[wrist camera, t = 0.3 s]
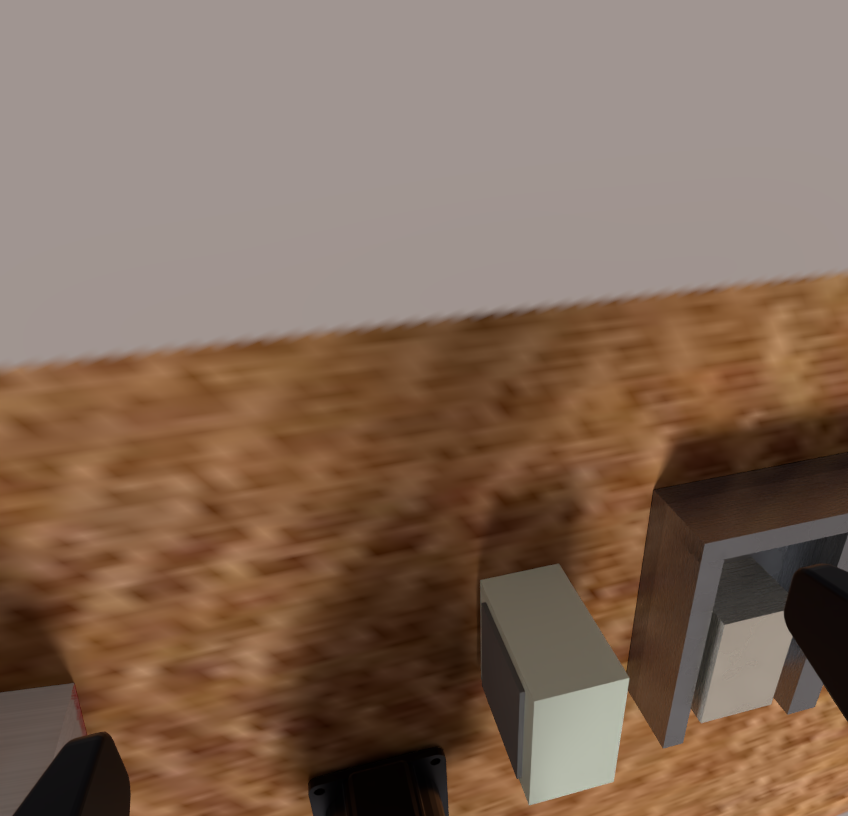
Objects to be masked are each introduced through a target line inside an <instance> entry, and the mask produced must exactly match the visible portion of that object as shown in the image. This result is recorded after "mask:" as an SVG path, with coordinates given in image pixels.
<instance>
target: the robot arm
mask: <svg viewBox="0 0 848 816" xmlns="http://www.w3.org/2000/svg"><path fill="white" fill-rule="evenodd" d="M784 620H785V623H786V626H787V628H788V630H789V632H790V633H791V635H792V636H793V638H794V639H795V641H796V643H797V644H798V646H799V647H800V649H801V650H802V652H803V653H804V655H805V657H806V658H807V660H808V661H809V663H810V664H811V666H812V667H813V669H814V671H815V672H816V674H817V675H818V677H819V678H820V680H821V681H822V683H823V685H824V686H825V688H826V689H827V691H828V692H829V694H830V695H831V697H832V699H833V700H834V702H835V703H836V705H837V706H838V708H839V709H840V711H841V712H842V714H843V716H844V717H845V718H846V720H847V721H848V572H847V571H845V570H843V569H840V568H838V567H835V566H833V565H830V564H823V563H822V564H816V565H812V566H807V567H803V568H800V569H798V570H797V571H796V572H795V573H794V575H793V577H792V581H791V585H790V589H789V592H788V596H787V600H786V604H785V607H784ZM308 793H309V798H310V803H311V807H312V812H313V816H449V812H448V793H447V774H446V758H445V755H444V751H443V749H442V748H440V747H433V748H429V749H425V750H421V751H418V752H414V753H410V754H406V755H402V756H398V757H394V758H390V759H386V760H382V761H378V762H374V763H371V764H367V765H363V766H359V767H355V768H351V769H347V770H343V771H339V772H335V773H331V774H327V775H324V776H320V777H316V778H314V779H312V780H311V781H310V782H309V783H308ZM129 815H130V781H129V777H128V773H127V771H126V769H125V766H124V764H123V762H122V759H121V757H120V755H119V752H118V750H117V748H116V746H115V743H114V741H113V739H112V737H111V736H110V735H109V734H108V733H106V732H99V733H94V734H90V735H86V736H81V737H77V738H74V739H71V740H70V741H68V742H67V743H66V744H65V745H64V746H63V747H62V749H61V750H60V751H59V753H58V754H57V755H56V757H55V758H54V759H53V761H52V762H51V763H50V765H49V766H48V768H47V769H46V770H45V772H44V773H43V774H42V776H41V777H40V778H39V780H38V781H37V782H36V784H35V785H34V787H33V788H32V789H31V791H30V792H29V793H28V795H27V796H26V797H25V799H24V800H23V802H22V803H21V804H20V806H19V807H18V808H17V810H16V811H15V812H14V814H13V815H12V816H129Z"/></svg>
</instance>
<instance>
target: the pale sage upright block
mask: <svg viewBox="0 0 848 816" xmlns="http://www.w3.org/2000/svg"><path fill="white" fill-rule="evenodd" d="M480 616H481V679H482V687H483V689H484V692H485V695H486V697H487V700H488V703H489V706H490V708H491V711H492V714H493V716H494V719H495V722H496V724H497V727H498V730H499V732H500V735H501V738H502V740H503V743H504V746H505V748H506V751H507V754H508V756H509V759H510V762H511V764H512V767H513V770H514V772H515V775H516V778H517V779H518V778H519V780H520V783H521V785H522V788H523V791H524V793H525V796H526V799H527V801H528V804H529V805H532V804H536V803H539V802H543V801H546V800H550V799H554V798H557V797H561V796H564V795H568V794H572V793H575V792H579V791H582V790H586V789H590V788H593V787H597V786H600V785H604V784H607V783H611V782H614V776H615V769H616V763H617V756H618V750H619V743H620V737H621V730H622V724H623V717H624V711H625V704H626V698H627V691H628V685H629V676H628V675H627V673H626V671H625V670H624V668H623V666H622V665H621V663H620V662H619V660H618V658H617V657H616V655H615V654H614V652H613V650H612V649H611V647H610V645H609V644H608V642H607V641H606V639H605V637H604V636H603V634H602V632H601V631H600V629H599V628H598V626H597V624H596V623H595V621H594V619H593V618H592V616H591V615H590V613H589V611H588V610H587V608H586V606H585V605H584V603H583V602H582V600H581V598H580V597H579V595H578V593H577V592H576V590H575V589H574V587H573V585H572V584H571V582H570V581H569V579H568V577H567V576H566V574H565V572H564V571H563V569H562V568H561V566H560V564H554V565H549V566H545V567H540V568H535V569H530V570H526V571H521V572H516V573H511V574H507V575H502V576H497V577H492V578H488V579H483V580H480Z"/></svg>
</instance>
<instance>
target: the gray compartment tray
mask: <svg viewBox="0 0 848 816" xmlns="http://www.w3.org/2000/svg"><path fill="white" fill-rule="evenodd" d="M822 563H823V564H830V565H833V566H835V567H838V568H840V569H843V570H845V571H847V572H848V452H847V453H842V454H837V455H831V456H826V457H821V458H816V459H811V460H806V461H800V462H795V463H790V464H785V465H780V466H775V467H769V468H764V469H759V470H754V471H749V472H744V473H739V474H733V475H728V476H723V477H718V478H713V479H708V480H702V481H697V482H692V483H687V484H682V485H677V486H671V487H666V488H661V489H656V490H654V492H653V498H652V505H651V512H650V519H649V525H648V532H647V539H646V546H645V552H644V559H643V566H642V573H641V579H640V586H639V593H638V600H637V606H636V613H635V620H634V627H633V633H632V640H631V647H630V654H629V660H628V667H627V675H628V676H629V685H628V691H629V693H630V695H631V696H632V698H633V700H634V701H635V703H636V705H637V706H638V708H639V710H640V711H641V713H642V714H643V716H644V718H645V719H646V721H647V723H648V724H649V726H650V728H651V729H652V731H653V733H654V734H655V736H656V738H657V739H658V741H659V743H660V744H661V746H662V748H667V747H670V746H674V745H678V744H681V743H683V740H684V735H685V731H686V727H687V722H688V718H689V713H690V709H692V711H693V712H694V714H695V715H696V717H697V718H698V720H699V721H700V722H701V723H703V722H707V721H711V720H715V719H718V718H722V717H726V716H730V715H733V714H737V713H741V712H744V711H748V710H752V709H756V708H759V707H763V706H767V705H770V704H771V703H772V700H773V698H774V699H775V700H776V701H777V702H778V704H779V705H780V706H781V707H782V709H783V710H784V711H785V712H786V713H787V714H791V713H795V712H798V711H802V710H805V709H809V708H813V707H815V705H816V702H817V699H818V697H819V694H820V691H821V688H822V686H823V683H822V681H821V680H820V678H819V677H818V675H817V674H816V672H815V671H814V669H813V667H812V666H811V664H810V663H809V661H808V660H807V658H806V657H805V655H804V653H803V652H802V650H801V649H800V647H799V646H798V644H797V643H796V641H795V639H794V638H793V636H792V635H791V633H790V632H789V630H788V628H787V626H786V623H785V620H784V607H785V604H786V600H787V596H788V592H789V589H790V585H791V581H792V577H793V575H794V573H795V572H796V571H797V570H798V569H800V568H803V567H807V566H812V565H816V564H822Z"/></svg>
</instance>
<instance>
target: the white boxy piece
mask: <svg viewBox="0 0 848 816" xmlns="http://www.w3.org/2000/svg"><path fill="white" fill-rule="evenodd" d="M86 735H87V733H86V729H85V725H84V720H83V716H82V712H81V708H80V704H79V700H78V696H77V692H76V688H75V683H70V684H62V685H54V686H47V687H39V688H31V689H24V690H16V691H8V692H1V693H0V816H12V815H13V814H14V812H15V811H16V810H17V808H18V807H19V806H20V804H21V803H22V802H23V800H24V799H25V797H26V796H27V795H28V793H29V792H30V791H31V789H32V788H33V787H34V785H35V784H36V782H37V781H38V780H39V778H40V777H41V776H42V774H43V773H44V772H45V770H46V769H47V768H48V766H49V765H50V763H51V762H52V761H53V759H54V758H55V757H56V755H57V754H58V753H59V751H60V750H61V749H62V747H63V746H64V745H65V744H66V743H67V742H68V741H70V740H71V739H74V738H77V737H81V736H86Z"/></svg>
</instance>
